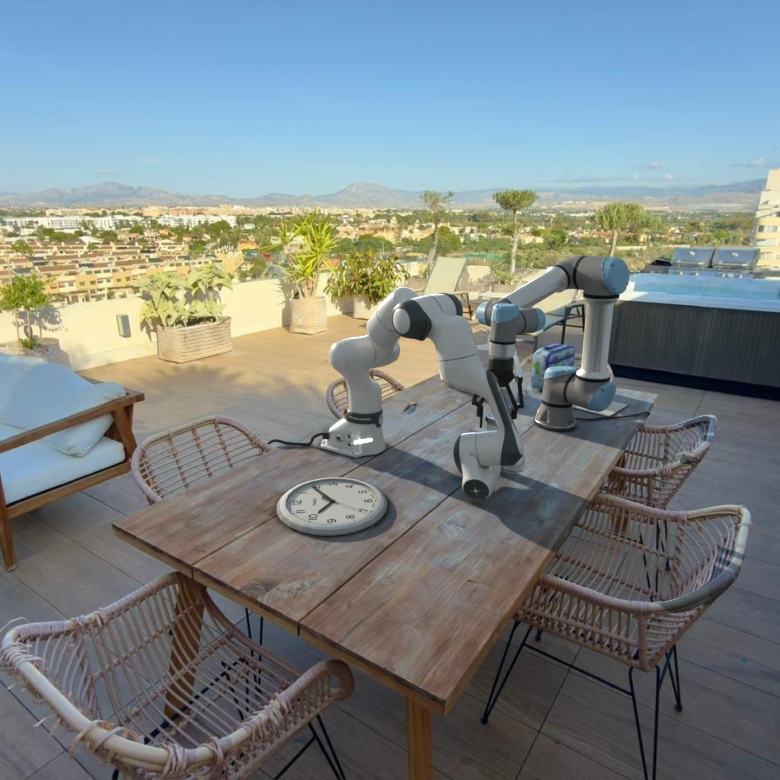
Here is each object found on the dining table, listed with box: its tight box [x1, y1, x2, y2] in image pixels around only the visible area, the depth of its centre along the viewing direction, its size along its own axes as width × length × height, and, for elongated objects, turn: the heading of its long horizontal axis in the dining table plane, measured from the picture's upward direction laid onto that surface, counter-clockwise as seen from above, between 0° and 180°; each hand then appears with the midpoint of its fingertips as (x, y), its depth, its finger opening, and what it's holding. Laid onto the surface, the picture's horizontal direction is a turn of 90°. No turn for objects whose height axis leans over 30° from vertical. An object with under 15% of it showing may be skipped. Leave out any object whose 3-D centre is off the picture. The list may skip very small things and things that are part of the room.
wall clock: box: [276, 476, 388, 537], centre depth 142 cm, size 30×2×30 cm
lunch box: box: [530, 343, 576, 391], centre depth 249 cm, size 26×11×21 cm, turn 134°
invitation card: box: [573, 400, 629, 417], centre depth 226 cm, size 21×1×15 cm
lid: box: [485, 412, 497, 425], centre depth 161 cm, size 7×7×2 cm
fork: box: [403, 396, 419, 412], centre depth 222 cm, size 3×16×2 cm, turn 160°
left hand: (494, 448), depth 165 cm, fingers closed on jar, 5 cm apart
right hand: (495, 427), depth 162 cm, fingers open, 8 cm apart
